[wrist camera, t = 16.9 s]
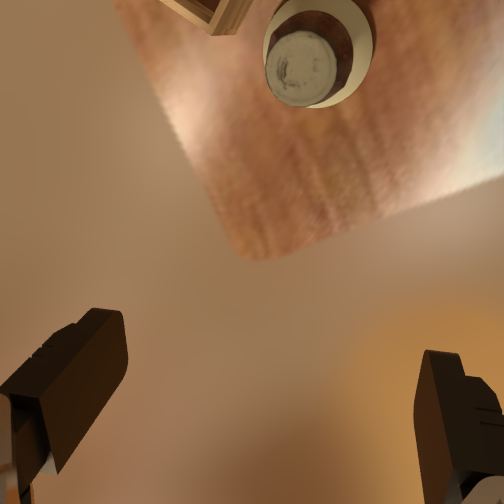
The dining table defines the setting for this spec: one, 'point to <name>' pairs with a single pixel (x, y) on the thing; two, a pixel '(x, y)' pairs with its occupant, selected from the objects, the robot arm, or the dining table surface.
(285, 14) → the saucer
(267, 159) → the dining table surface
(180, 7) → the caddy
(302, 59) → the sauce bottle
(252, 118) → the dining table surface
